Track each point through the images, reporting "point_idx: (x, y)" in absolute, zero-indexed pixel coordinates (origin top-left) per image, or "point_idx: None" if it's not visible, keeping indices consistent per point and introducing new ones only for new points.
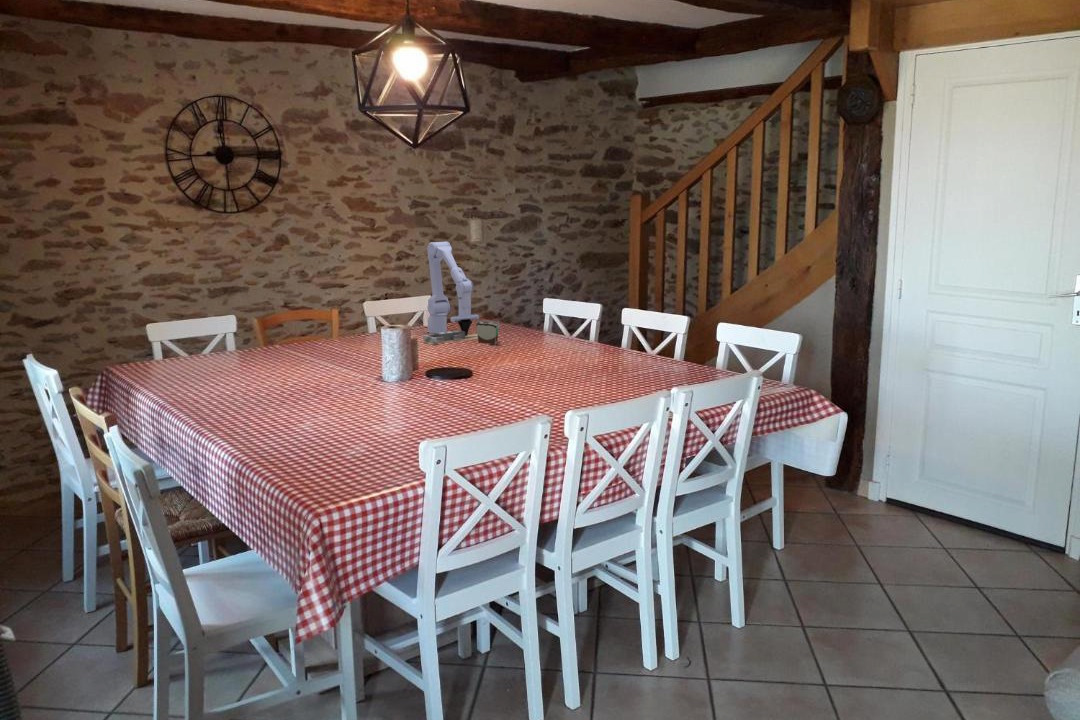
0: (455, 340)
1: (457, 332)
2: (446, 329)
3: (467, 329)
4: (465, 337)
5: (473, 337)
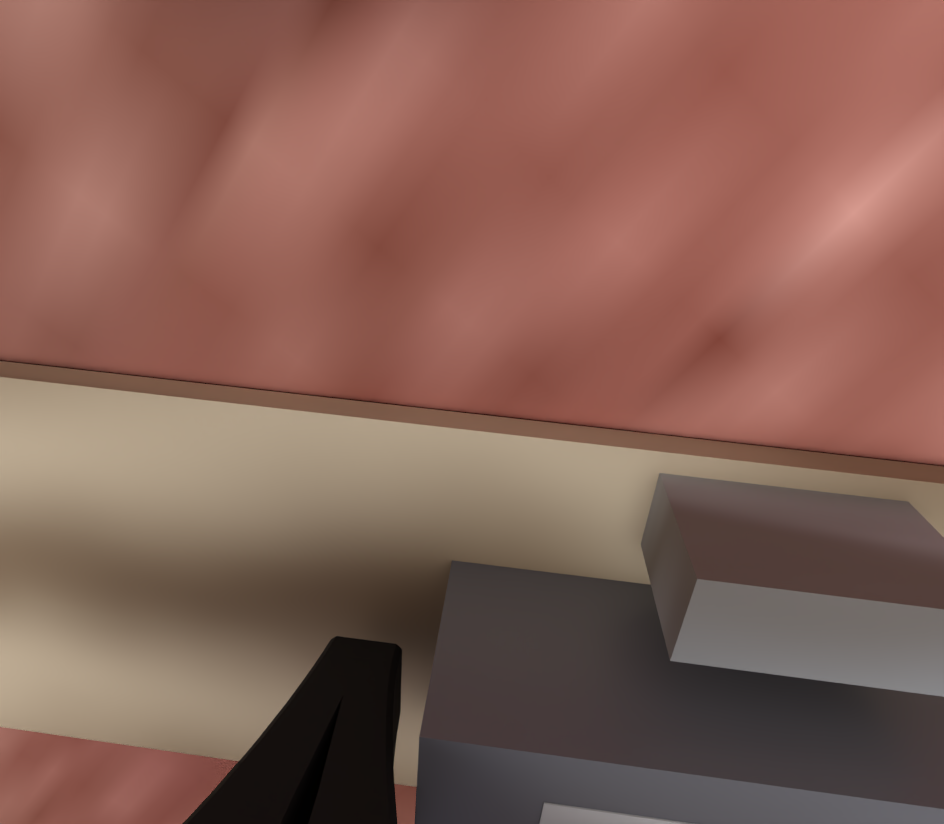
0: (891, 507)
1: (731, 771)
2: None
3: (276, 790)
4: None
5: (199, 542)
